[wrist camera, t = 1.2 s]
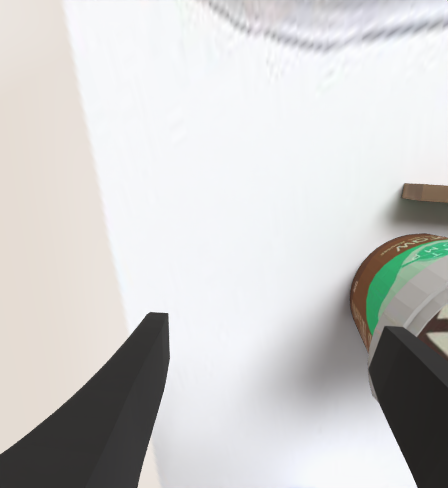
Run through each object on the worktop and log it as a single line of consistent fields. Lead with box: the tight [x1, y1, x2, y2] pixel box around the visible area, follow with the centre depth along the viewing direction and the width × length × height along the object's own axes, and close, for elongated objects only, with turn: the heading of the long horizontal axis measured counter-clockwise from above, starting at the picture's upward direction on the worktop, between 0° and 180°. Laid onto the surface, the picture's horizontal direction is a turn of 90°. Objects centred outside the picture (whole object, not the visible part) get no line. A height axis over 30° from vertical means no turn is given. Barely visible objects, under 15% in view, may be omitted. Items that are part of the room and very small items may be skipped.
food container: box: [350, 233, 448, 402], centre depth 18 cm, size 12×6×10 cm, turn 112°
